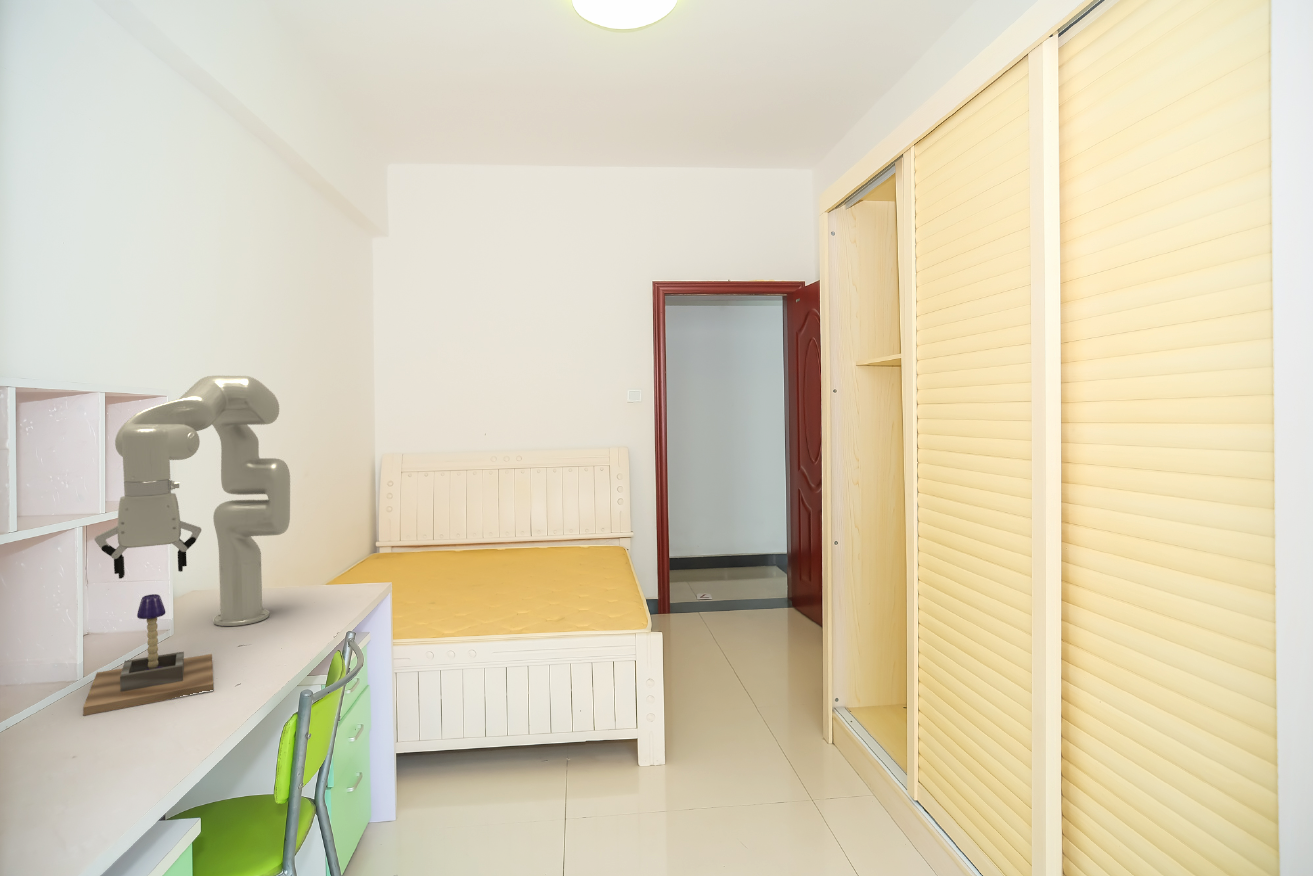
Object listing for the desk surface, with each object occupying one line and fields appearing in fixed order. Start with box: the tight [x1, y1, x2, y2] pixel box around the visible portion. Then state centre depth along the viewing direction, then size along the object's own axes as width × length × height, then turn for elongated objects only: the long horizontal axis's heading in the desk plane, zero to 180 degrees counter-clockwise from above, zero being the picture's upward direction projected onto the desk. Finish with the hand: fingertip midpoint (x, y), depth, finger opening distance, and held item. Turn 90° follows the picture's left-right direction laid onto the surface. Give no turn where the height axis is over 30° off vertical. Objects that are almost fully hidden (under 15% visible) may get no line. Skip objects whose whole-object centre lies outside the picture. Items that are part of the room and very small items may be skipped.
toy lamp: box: [136, 593, 166, 670], centre depth 141 cm, size 5×5×17 cm
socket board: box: [82, 651, 214, 717], centre depth 141 cm, size 20×20×4 cm
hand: (151, 573), depth 140 cm, fingers open, 9 cm apart
